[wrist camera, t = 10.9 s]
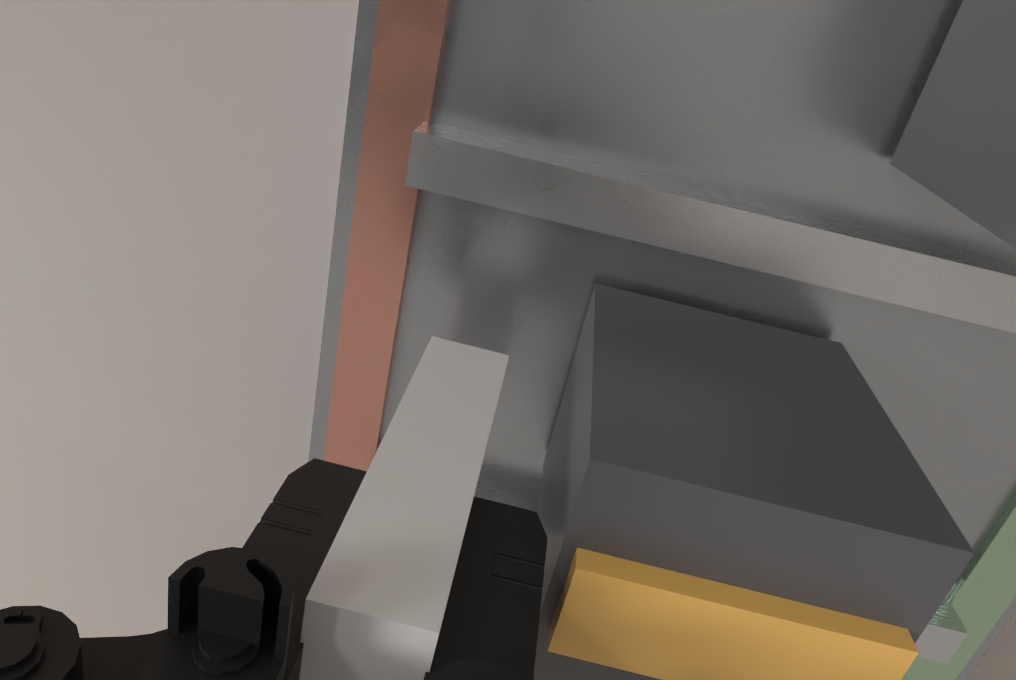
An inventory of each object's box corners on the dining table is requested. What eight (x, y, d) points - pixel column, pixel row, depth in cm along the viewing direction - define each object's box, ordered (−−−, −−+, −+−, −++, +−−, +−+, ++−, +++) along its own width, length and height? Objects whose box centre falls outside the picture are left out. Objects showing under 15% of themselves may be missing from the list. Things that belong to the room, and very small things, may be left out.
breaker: (543, 463, 17) (512, 713, 11) (595, 283, 15) (589, 477, 9) (759, 516, 17) (838, 794, 11) (841, 343, 15) (989, 576, 9)
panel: (306, 648, 24) (268, 733, 21) (444, -451, 12) (398, -569, 9) (827, 777, 24) (856, 880, 21) (1482, -208, 12) (1735, -259, 9)
